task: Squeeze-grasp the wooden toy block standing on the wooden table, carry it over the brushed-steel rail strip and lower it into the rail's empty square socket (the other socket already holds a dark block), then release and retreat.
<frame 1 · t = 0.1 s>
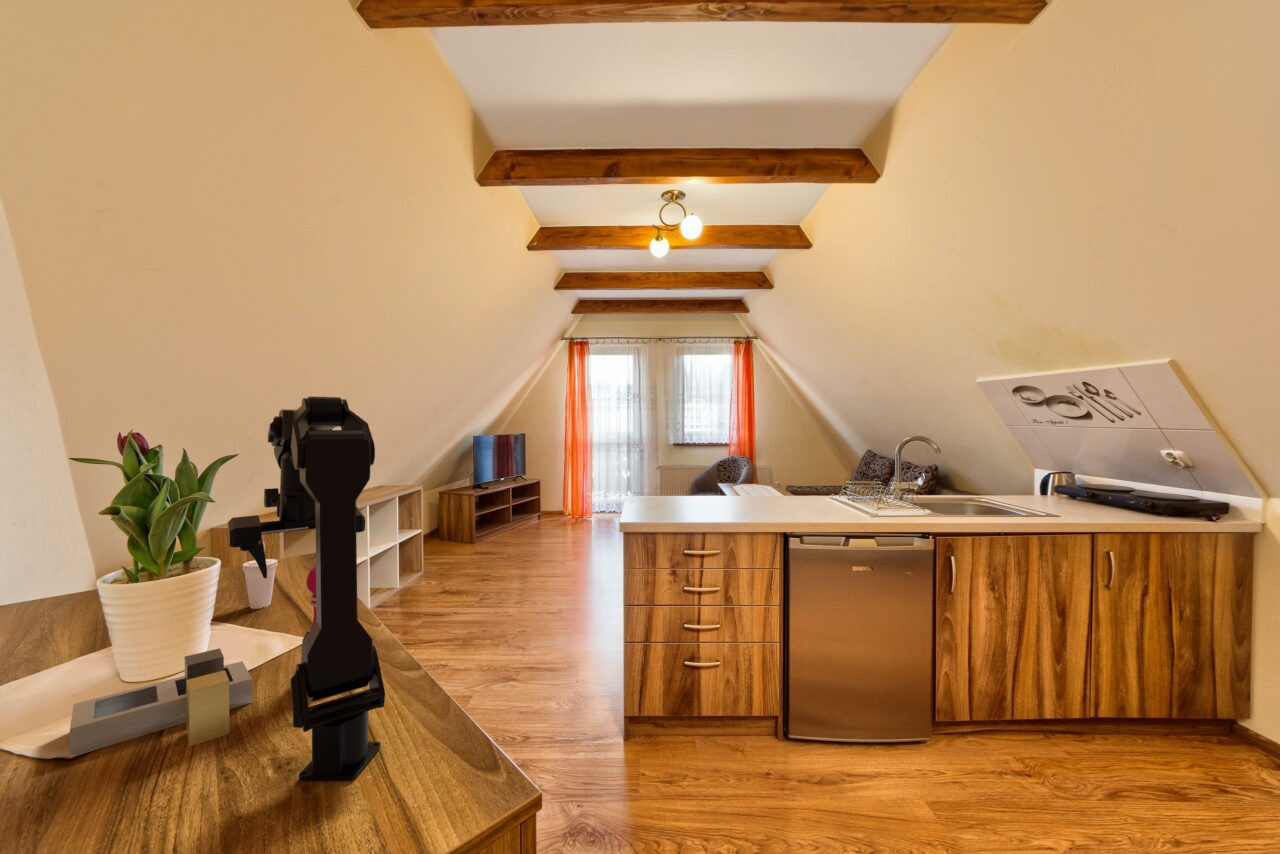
hand: (298, 572, 90), 15 cm above the table, tool pointing down, fingers open, 9 cm apart
smoothie: (260, 606, 118), on the table
wooden toy block: (207, 733, 69), on the table
rail: (167, 715, 73), on the table
pepper mill: (329, 679, 84), on the table
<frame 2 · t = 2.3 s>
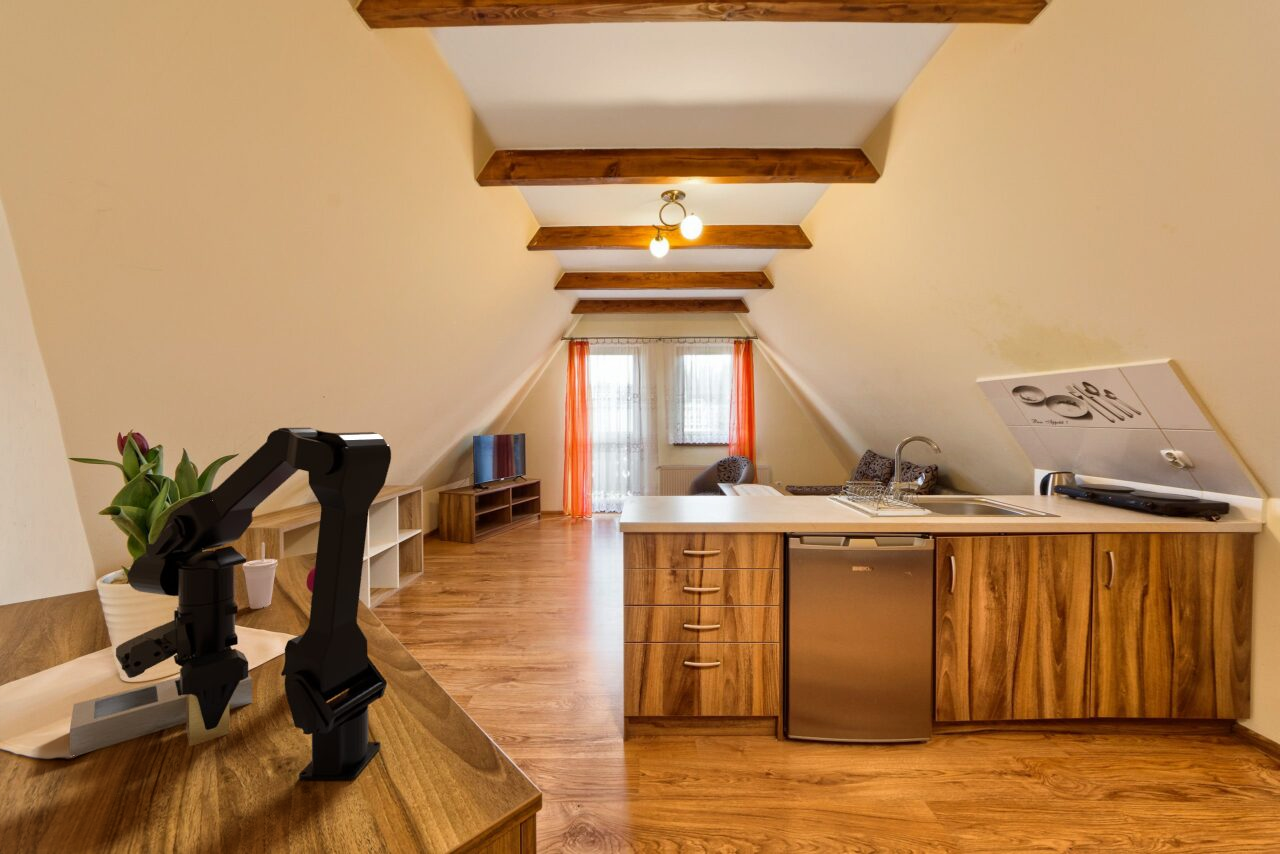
hand: (207, 717, 69), 2 cm above the table, tool pointing down, fingers open, 7 cm apart
nothing on the table moved.
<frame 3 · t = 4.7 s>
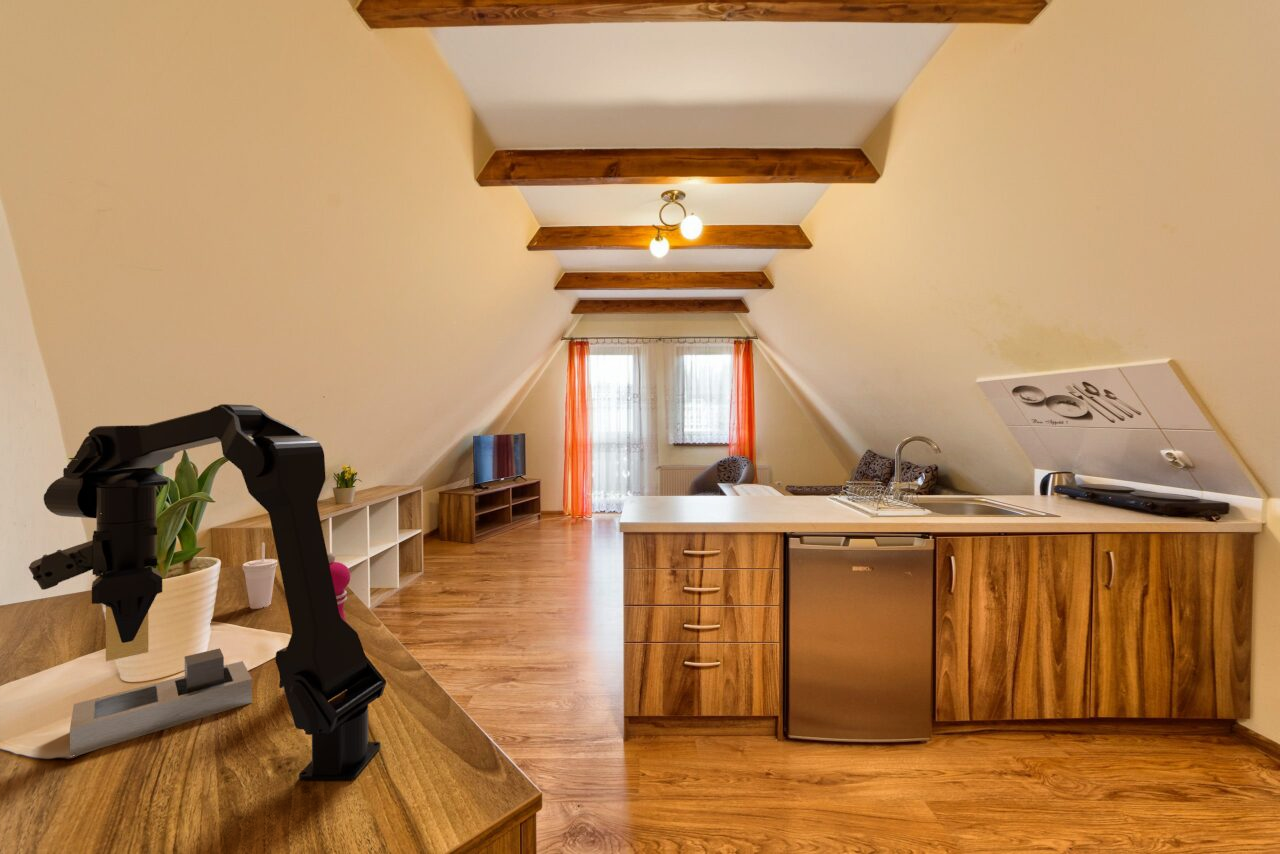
hand: (127, 636, 71), 12 cm above the table, tool pointing down, fingers closed on wooden toy block, 4 cm apart
wooden toy block: (127, 651, 71), point 10 cm above the table, touching gripper
everything else where it was.
when the fingers open (4 cm above the table, at t = 6.8 s): wooden toy block drops 2 cm, resting in rail.
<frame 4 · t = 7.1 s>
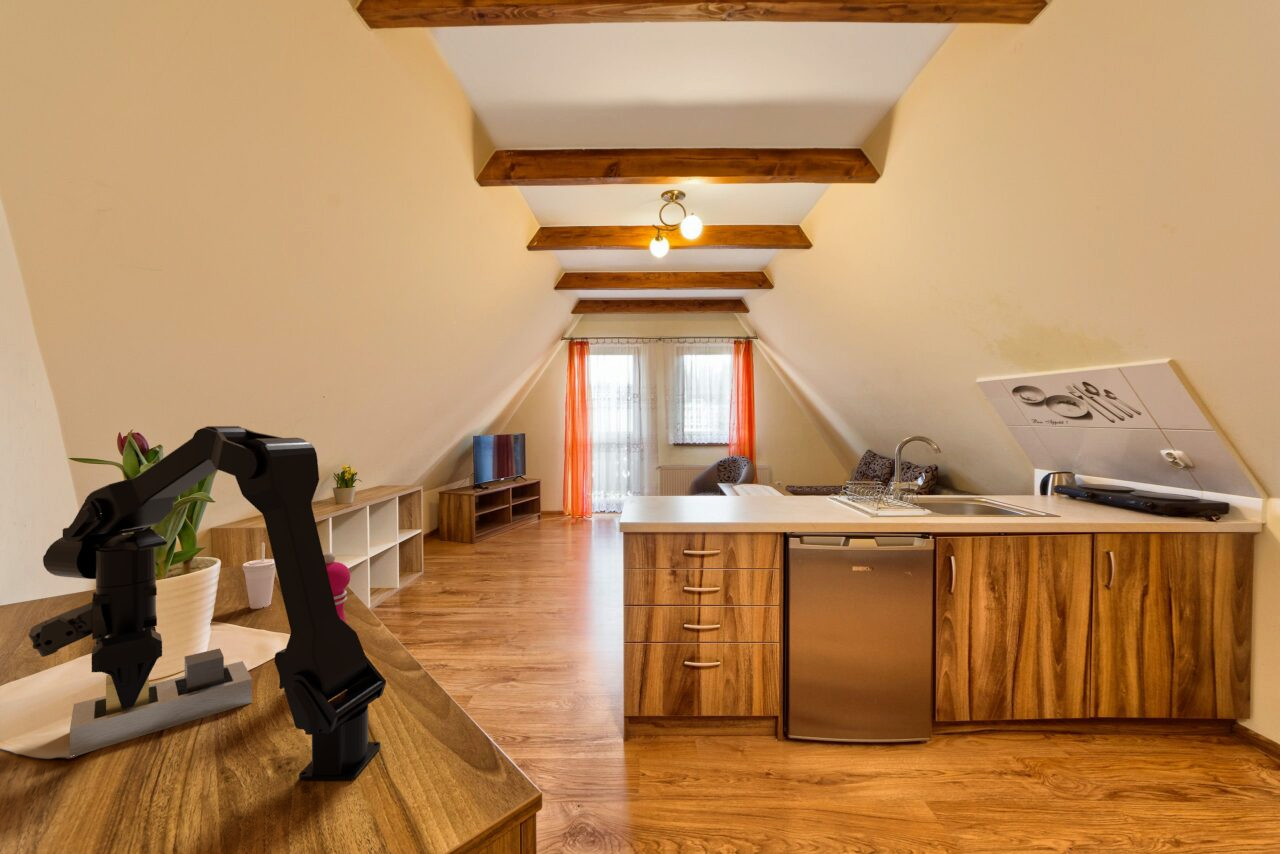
hand: (127, 697, 71), 4 cm above the table, tool pointing down, fingers open, 7 cm apart
wooden toy block: (127, 727, 71), resting in rail
everything else where it was.
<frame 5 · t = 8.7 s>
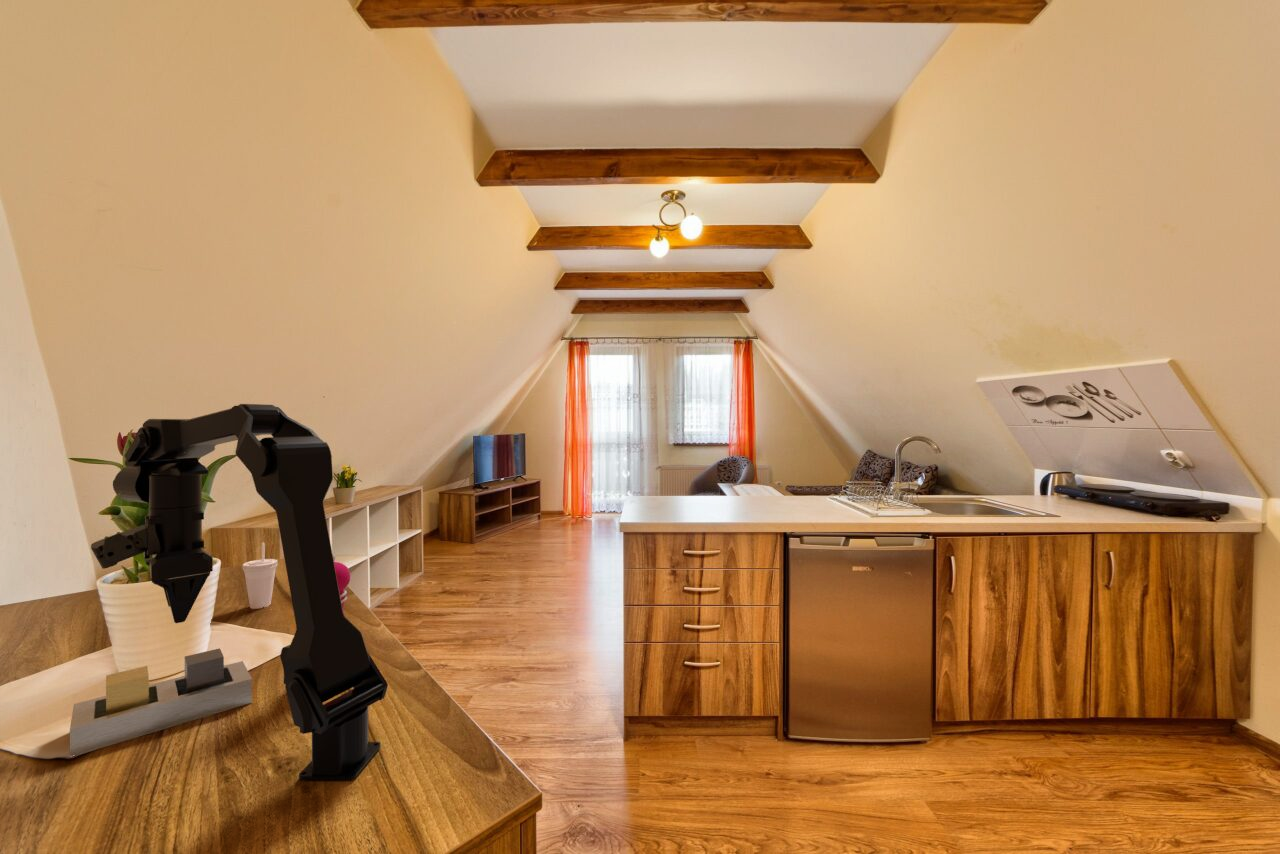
hand: (176, 613, 76), 13 cm above the table, tool pointing down, fingers open, 9 cm apart
nothing on the table moved.
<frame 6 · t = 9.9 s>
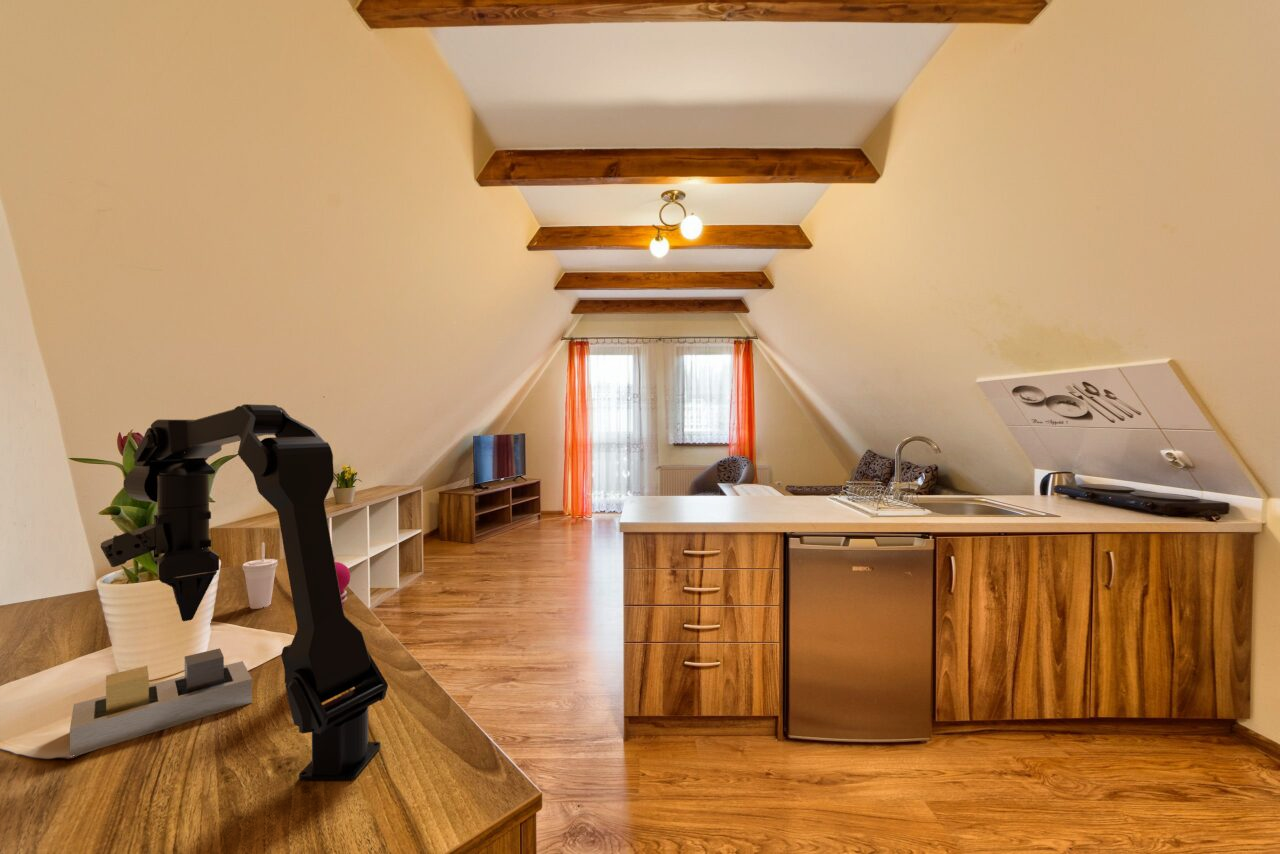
hand: (184, 612, 77), 13 cm above the table, tool pointing down, fingers open, 9 cm apart
nothing on the table moved.
at the end: wooden toy block 0.0 cm from the target spot, resting in rail; wooden toy block tilted 0°; the gripper is holding nothing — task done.
